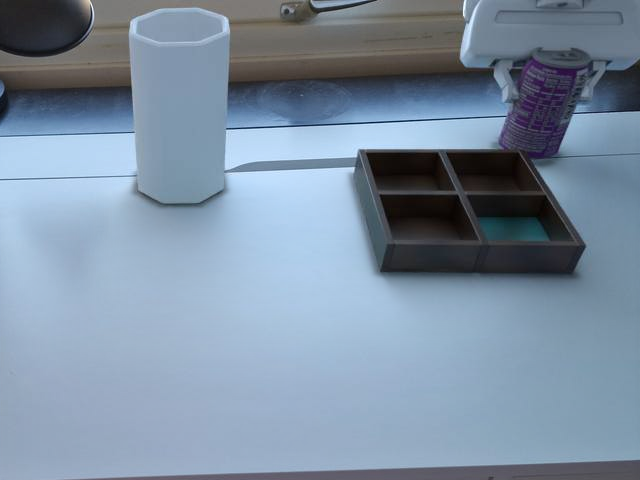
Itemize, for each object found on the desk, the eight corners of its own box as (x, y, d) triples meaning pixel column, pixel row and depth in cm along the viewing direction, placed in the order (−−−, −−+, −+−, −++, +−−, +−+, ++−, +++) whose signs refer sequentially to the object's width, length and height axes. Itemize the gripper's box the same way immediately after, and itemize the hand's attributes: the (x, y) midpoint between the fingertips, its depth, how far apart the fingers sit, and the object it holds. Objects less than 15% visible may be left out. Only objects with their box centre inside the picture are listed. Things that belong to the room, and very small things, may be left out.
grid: (514, 175, 84) (524, 148, 82) (572, 273, 70) (586, 245, 68) (353, 175, 85) (358, 148, 83) (380, 271, 72) (387, 244, 69)
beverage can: (549, 138, 90) (586, 43, 82) (562, 165, 85) (603, 68, 77) (492, 135, 91) (523, 42, 83) (501, 162, 86) (535, 65, 78)
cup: (238, 168, 87) (247, 12, 74) (206, 214, 80) (210, 51, 67) (157, 152, 90) (152, 1, 77) (120, 195, 83) (107, 37, 70)
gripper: (473, -28, 81) (466, 90, 81) (659, -27, 79) (651, 94, 79) (456, 0, 87) (449, 109, 87) (628, 2, 85) (620, 113, 85)
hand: (546, 102), depth 83 cm, fingers closed on beverage can, 7 cm apart
